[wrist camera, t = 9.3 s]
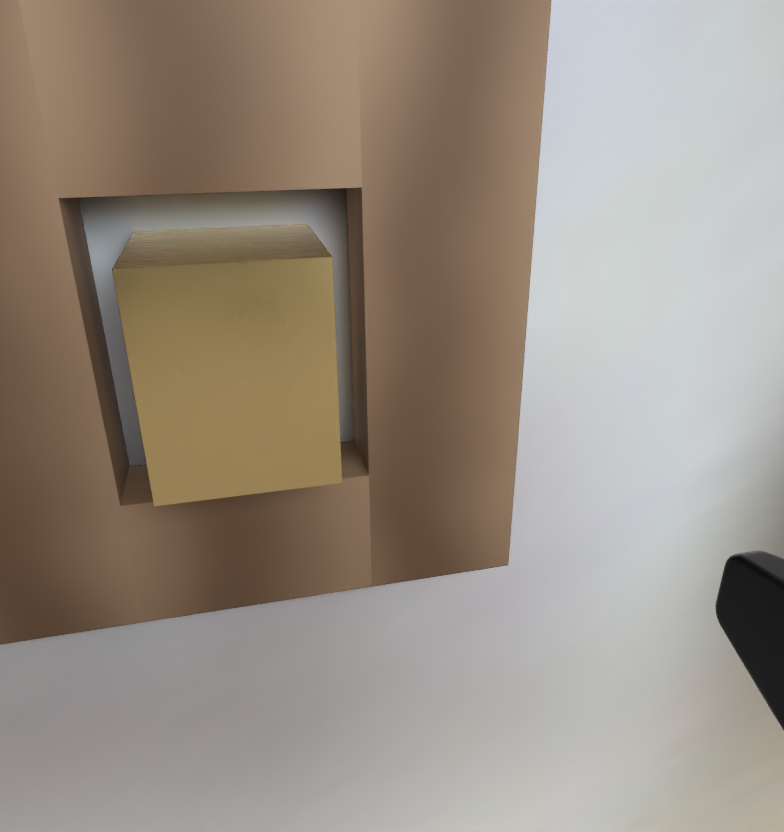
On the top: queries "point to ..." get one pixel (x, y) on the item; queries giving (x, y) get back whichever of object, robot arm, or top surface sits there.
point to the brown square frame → (368, 279)
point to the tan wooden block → (232, 359)
